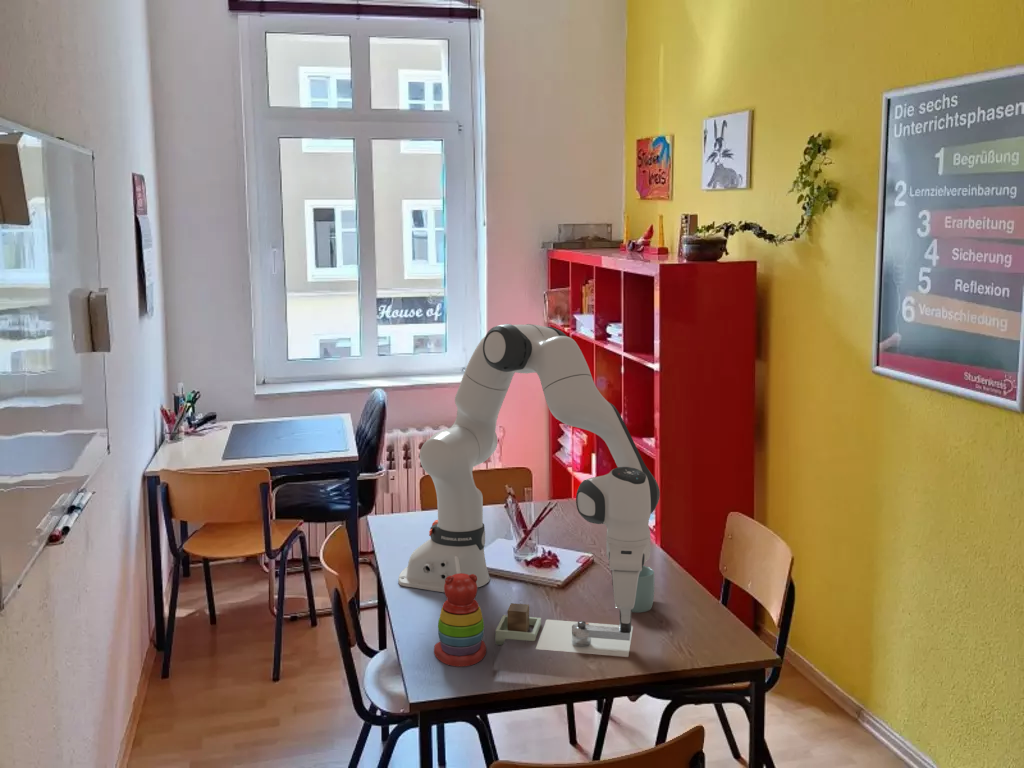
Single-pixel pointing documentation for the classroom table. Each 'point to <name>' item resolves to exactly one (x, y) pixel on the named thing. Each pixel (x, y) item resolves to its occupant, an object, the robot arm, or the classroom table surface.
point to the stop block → (518, 617)
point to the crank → (598, 632)
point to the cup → (644, 590)
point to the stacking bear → (460, 623)
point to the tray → (504, 634)
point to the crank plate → (560, 639)
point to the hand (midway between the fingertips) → (627, 612)
